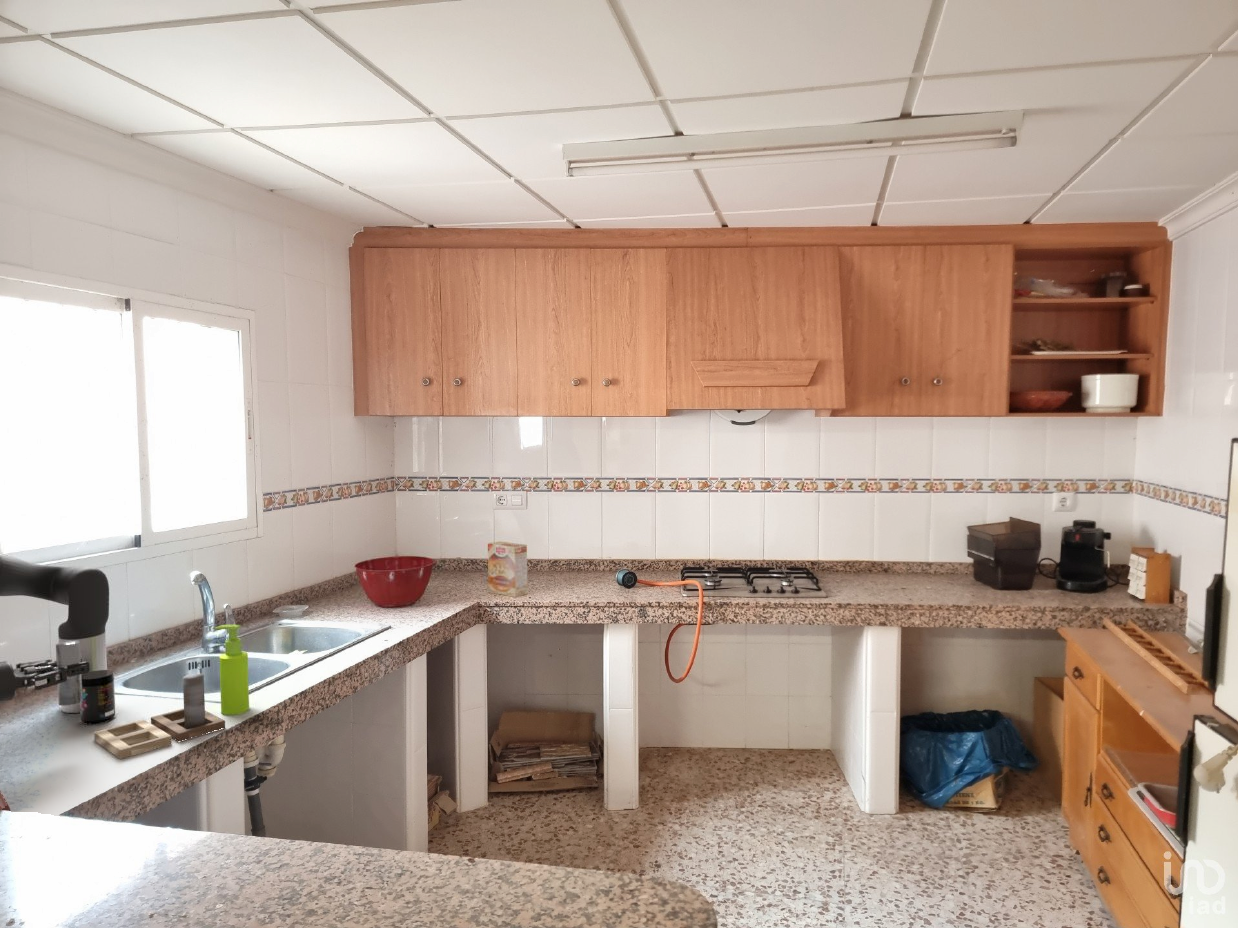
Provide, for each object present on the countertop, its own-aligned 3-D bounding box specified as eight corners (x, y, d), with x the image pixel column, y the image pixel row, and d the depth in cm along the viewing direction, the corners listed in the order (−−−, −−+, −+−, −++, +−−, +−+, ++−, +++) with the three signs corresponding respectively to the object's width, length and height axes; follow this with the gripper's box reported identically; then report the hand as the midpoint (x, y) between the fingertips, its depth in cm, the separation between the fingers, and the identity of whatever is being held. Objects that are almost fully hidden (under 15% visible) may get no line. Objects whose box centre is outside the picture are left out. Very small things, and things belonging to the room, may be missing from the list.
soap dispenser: (225, 705, 190) (222, 622, 189) (253, 706, 190) (251, 622, 189) (211, 714, 185) (208, 628, 183) (241, 715, 184) (238, 628, 183)
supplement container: (95, 713, 186) (93, 669, 185) (122, 714, 185) (121, 670, 185) (72, 724, 179) (70, 678, 178) (101, 725, 178) (99, 679, 178)
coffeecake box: (487, 592, 316) (486, 543, 315) (500, 589, 321) (500, 540, 320) (515, 597, 307) (514, 546, 306) (528, 594, 312) (527, 544, 311)
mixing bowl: (400, 615, 278) (399, 571, 278) (338, 608, 290) (337, 565, 290) (450, 599, 304) (450, 558, 303) (391, 593, 316) (390, 553, 315)
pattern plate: (151, 725, 178) (149, 671, 178) (195, 713, 186) (194, 661, 185) (179, 741, 169) (177, 685, 168) (225, 728, 176) (223, 674, 176)
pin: (55, 702, 163) (52, 643, 162) (78, 697, 166) (75, 639, 165) (62, 706, 160) (59, 647, 160) (85, 701, 163) (82, 643, 163)
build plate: (94, 740, 170) (94, 731, 170) (143, 727, 177) (143, 718, 177) (120, 758, 160) (120, 750, 160) (171, 744, 168) (171, 735, 168)
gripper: (-11, 674, 147) (96, 652, 160) (-31, 659, 156) (72, 640, 169) (-9, 714, 147) (98, 689, 161) (-29, 697, 157) (74, 675, 170)
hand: (84, 664), depth 165 cm, fingers closed on pin, 4 cm apart
